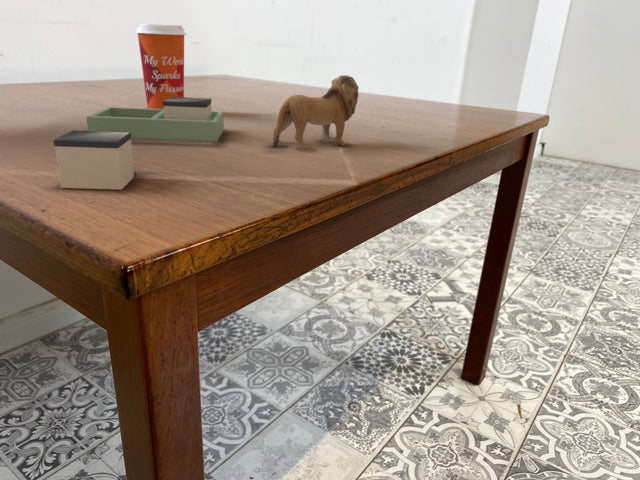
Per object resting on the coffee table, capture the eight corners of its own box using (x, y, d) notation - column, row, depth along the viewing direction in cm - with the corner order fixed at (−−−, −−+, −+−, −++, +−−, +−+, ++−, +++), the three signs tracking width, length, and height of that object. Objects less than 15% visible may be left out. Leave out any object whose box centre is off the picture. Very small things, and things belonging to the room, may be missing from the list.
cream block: (60, 188, 48) (52, 139, 46) (78, 175, 52) (72, 130, 50) (122, 190, 48) (117, 142, 47) (135, 176, 53) (131, 132, 51)
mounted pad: (164, 136, 68) (162, 101, 67) (171, 129, 73) (169, 96, 71) (207, 137, 69) (206, 103, 67) (212, 131, 73) (211, 98, 71)
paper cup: (145, 119, 82) (137, 23, 77) (139, 111, 89) (132, 22, 83) (194, 118, 85) (191, 26, 80) (185, 110, 92) (181, 25, 86)
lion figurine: (337, 136, 77) (341, 73, 74) (364, 142, 74) (369, 76, 70) (259, 147, 68) (259, 75, 64) (286, 155, 64) (288, 80, 61)
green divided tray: (216, 145, 67) (216, 121, 66) (89, 141, 66) (86, 116, 65) (224, 133, 75) (223, 111, 74) (109, 128, 74) (107, 106, 73)
